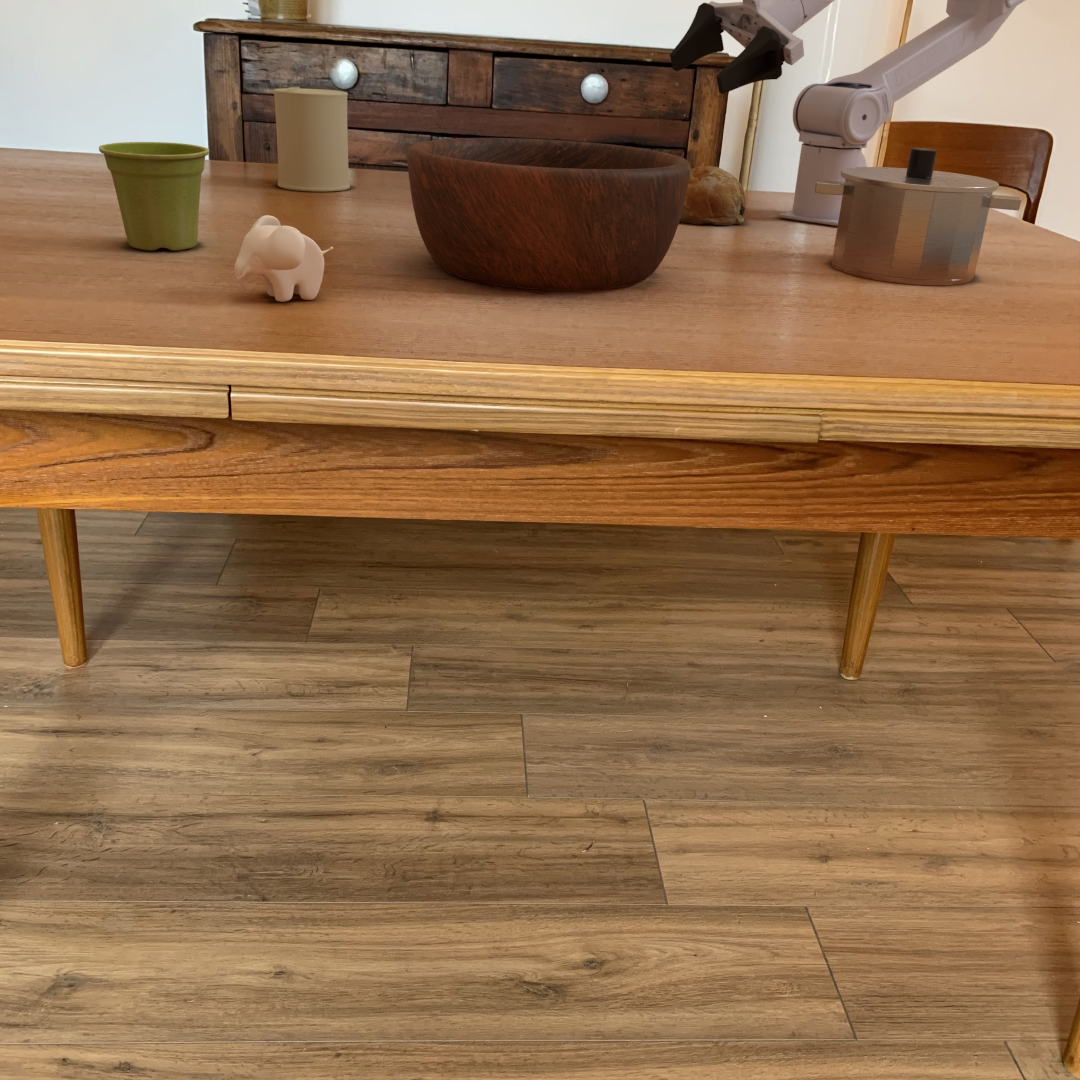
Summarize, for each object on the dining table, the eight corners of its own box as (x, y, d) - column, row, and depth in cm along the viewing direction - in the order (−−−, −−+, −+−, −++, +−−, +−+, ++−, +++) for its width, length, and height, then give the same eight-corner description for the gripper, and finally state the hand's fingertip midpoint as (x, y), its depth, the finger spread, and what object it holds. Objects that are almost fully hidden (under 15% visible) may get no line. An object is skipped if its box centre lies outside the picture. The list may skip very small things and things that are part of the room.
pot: (808, 250, 117) (821, 167, 114) (994, 268, 113) (1014, 182, 109) (800, 273, 105) (814, 181, 102) (1008, 294, 101) (1030, 199, 97)
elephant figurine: (222, 292, 86) (217, 214, 84) (320, 285, 90) (317, 211, 87) (246, 311, 81) (241, 229, 78) (349, 304, 85) (347, 225, 82)
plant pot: (237, 244, 104) (230, 148, 100) (167, 260, 96) (157, 156, 92) (160, 233, 107) (151, 139, 104) (87, 246, 99) (74, 146, 96)
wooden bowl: (640, 246, 114) (649, 142, 109) (715, 302, 92) (731, 174, 87) (399, 242, 109) (398, 133, 105) (417, 299, 87) (417, 164, 83)
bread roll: (722, 258, 130) (760, 197, 126) (648, 213, 129) (684, 151, 126) (726, 244, 138) (761, 187, 135) (657, 202, 138) (690, 144, 134)
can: (264, 183, 142) (258, 83, 137) (325, 180, 147) (322, 84, 142) (302, 193, 136) (298, 89, 131) (364, 189, 141) (362, 89, 136)
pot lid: (841, 174, 114) (847, 137, 112) (989, 186, 111) (997, 148, 109) (837, 190, 101) (843, 149, 100) (1003, 204, 98) (1013, 162, 96)
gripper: (736, -46, 124) (646, 21, 122) (830, -10, 115) (736, 63, 113) (744, 11, 129) (658, 76, 127) (834, 50, 121) (744, 119, 119)
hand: (695, 73), depth 121 cm, fingers open, 7 cm apart
